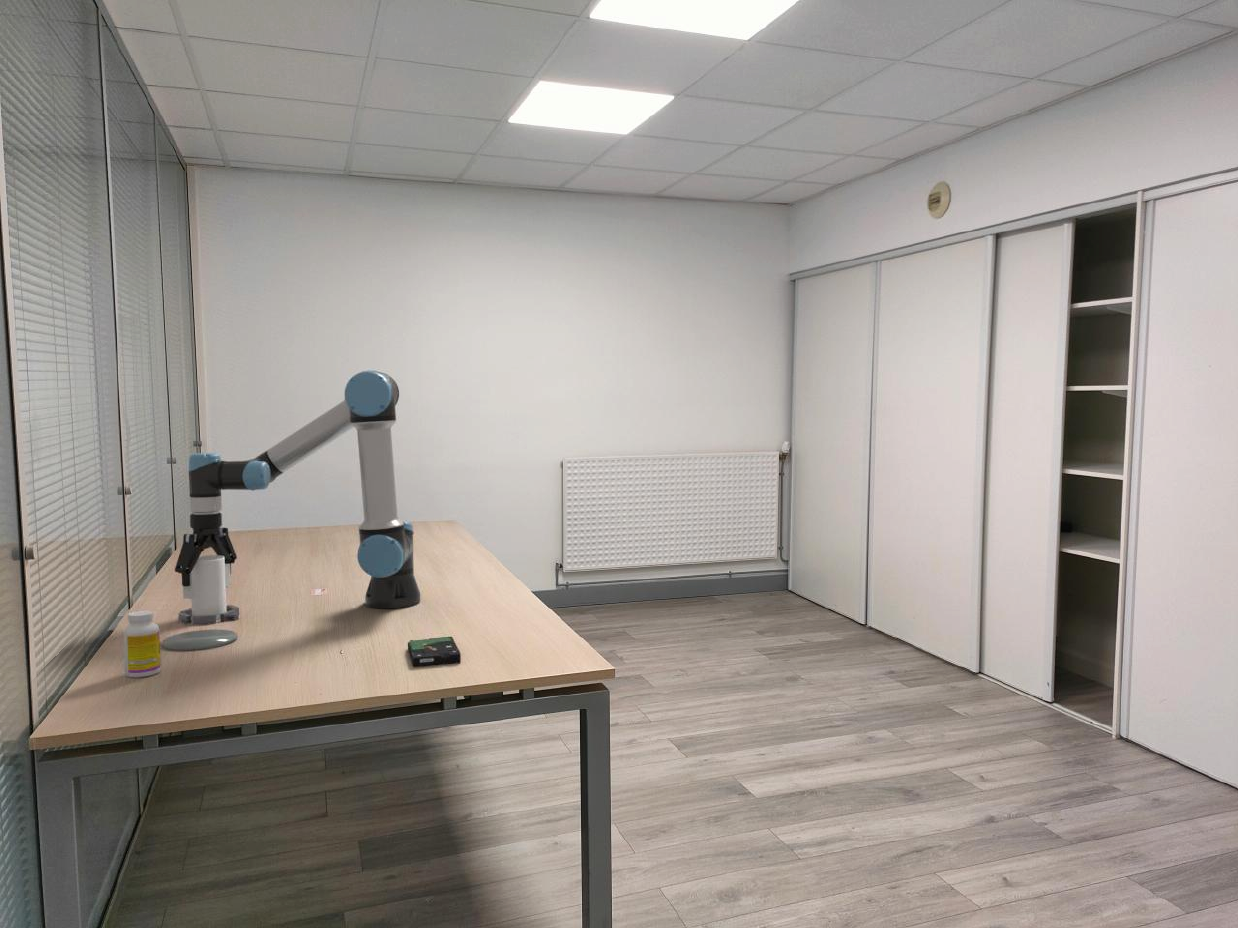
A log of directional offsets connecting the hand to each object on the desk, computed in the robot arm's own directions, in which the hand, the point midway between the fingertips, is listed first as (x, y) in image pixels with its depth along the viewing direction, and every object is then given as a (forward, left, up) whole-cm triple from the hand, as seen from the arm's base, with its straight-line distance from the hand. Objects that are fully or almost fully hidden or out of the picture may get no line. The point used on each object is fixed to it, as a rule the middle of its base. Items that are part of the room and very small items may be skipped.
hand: (207, 593), depth 231 cm
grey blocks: (0, 0, -7) cm, 7 cm away
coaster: (-14, +20, -7) cm, 25 cm away
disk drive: (-73, +17, -7) cm, 75 cm away
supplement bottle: (-20, +44, -7) cm, 49 cm away
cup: (0, 0, -7) cm, 7 cm away
